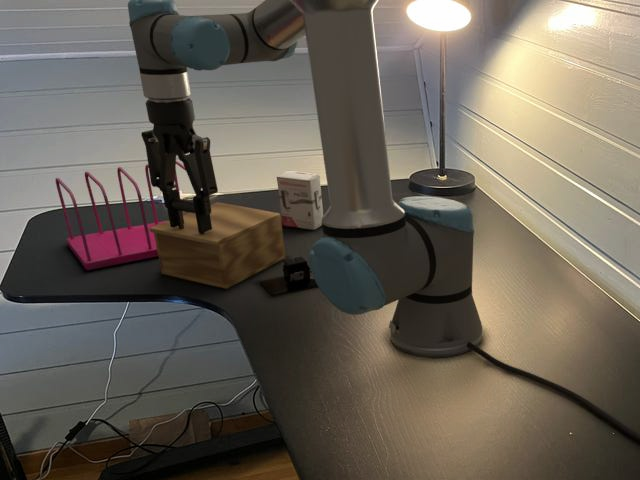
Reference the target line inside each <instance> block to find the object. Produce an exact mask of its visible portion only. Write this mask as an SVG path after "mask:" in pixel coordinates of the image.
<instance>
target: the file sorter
mask: <svg viewBox="0 0 640 480" xmlns="http://www.w3.org/2000/svg"><path fill="white" fill-rule="evenodd" d="M176 165H177V166H179V167H180V168H181V169H182V170H184V171H185V172H186V169H185V167H184V164H183V163H181V161H180V162H179V160H176ZM144 171H145V177H146V182H147V188H148V193H149V199H150V204H151V208H152V213H153V218H154V222H151V223H148V222H147V217H146V212H145V208H144V202H143V198H142V194H141V191H140V187H139V185H138V183H137V181H135V179H134V178H133V177H132V176H130V174H129V173H128V172H127V171H125V169H124V168H123V167H121V166H119V167H117V172H116V173H117V178H118V184H119V189H120V193H121V199H122V206H123V208H124V214H125V219H126V225H127V227H123V228H117V229H116V226H115V222H114V218H113V214H112V210H111V207H110V203H109V199H108V196H107V193H106V190H105V188H104V186H103V185H102V183H101V182H100V181H99V180H98V179H97V178H96V177H94V176H93V174H91V173H90V171H84V179H85V180H84V181H85V183H86V188H87V191H88V194H89V199H90V203H91V205H92V208H93V213H94V217H95V220H96V224H97V228H98V231H99V232H95V233H94V232H93V233H88V234H85V231H84V226H83V222H82V219H81V215H80V212H79V208H78V204H77V201H76V198H75V196H74V194H73V192H72V190H71V189H70V188H69V187H68V185H66V183H65V182H63V181H62V179H61V178H60V177H56V178H55V185H56V190H57V193H58V198H59V200H60V204H61V208H62V213H63V215H64V219H65V223H66V226H67V230H68V234H69V237H67V238H66V242H67V246H68V247H69V249H70V250H71V252H73V254H74V255H75V257H76V259H78V260H79V262H80V263H81V265H82V266H83V267H84V269H85V270H86V271H91V270H97V269H101V268H107V267H111V266H117V265H121V264H126V263H131V262H135V261H141V260H145V259H151V258H157V257H158V252H157V247H156V242H155V237H154V233H153V232H150V228H151V227H153V226H156V225H159V224H161V223H164V222H167V221H169V219H168V220H163V221H158V215H157V211H156V205H155V199H154V195H153V189H152V185H151V180H150V173H149V166H148V163H147V164H145V166H144ZM121 173H122V174H123V175H124V176H125V177H126V178H127V180H128V181H129V182H131V184H132V185H133V187H134V188H135V189H134V190H136V191H135V192H136V194H137V199H138V203H139V209H140V213H141V219H142V224H141V225H135V226H132V225H131V219H130V216H129V215H130V214H129V210H128V204H127V200H126V195H125V190H124V185H123V180H122V174H121ZM90 179H91V181H93V183H95V184H96V185H97V186H98V187H99V189H100V191H101V194H102V197H103V200H104V203H105V207H106V211H107V215H108V219H109V223H110V226H111V230H105V231H103V228H102V224H101V220H100V216H99V213H98V210H97V209H98V208H97V205H96V201H95V198H94V195H93V191H92V188H91V184H90ZM174 184H175V185H176V186H177V187H176V188H175V189H177V190H178V191H179V197H180V199H182V198H181V194H180V187H179V181H178V175H177V168H176V166H175V181H174ZM61 187H62V188H63V189H64V190H65V191H66V192H67V193H68V195H69V197H70V199H71V201H72V204H73V205H72V206H73V208H74V212H75V217H76V220H77V223H78V228H79V232H80V235H77V236H74V233H73V229H72V225H71V222H70V218H69V214H68V210H67V208H66V204H65V200H64V196H63V192H62V190H61ZM182 213H183V214H184V212H183V211H182Z"/></svg>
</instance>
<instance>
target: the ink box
mask: <svg viewBox="0 0 640 480" xmlns="http://www.w3.org/2000/svg"><path fill="white" fill-rule="evenodd" d="M276 182H277V190H278V199H279V207H280V216H281V223H282V227H288V228H289V227H290V228H296V229H297V228H298V229H304V230H313V231H315V230H317V229H319V228H320V227H322V220H321V219H322V217H323V216H324V209H323V199H322V187H321V177H320V175H319V174H318V173H313V172H307V171H298V170H297V171H296V170H285V171H284V172H282V173H280V174H278V175H277V176H276Z"/></svg>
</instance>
